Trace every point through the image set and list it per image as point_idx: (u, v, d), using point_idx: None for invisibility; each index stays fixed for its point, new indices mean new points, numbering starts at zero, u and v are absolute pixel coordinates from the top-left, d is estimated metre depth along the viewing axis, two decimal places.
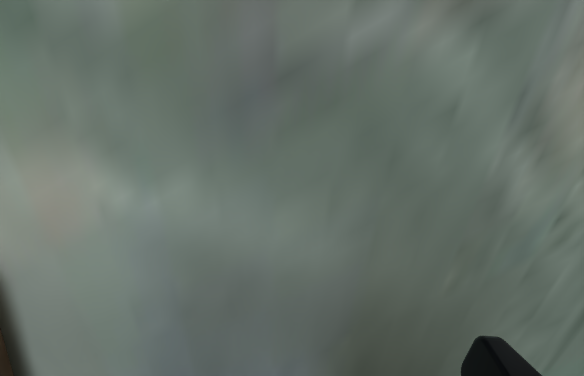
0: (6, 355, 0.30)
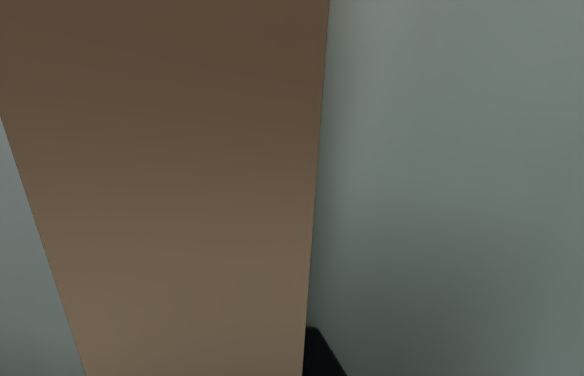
0: None
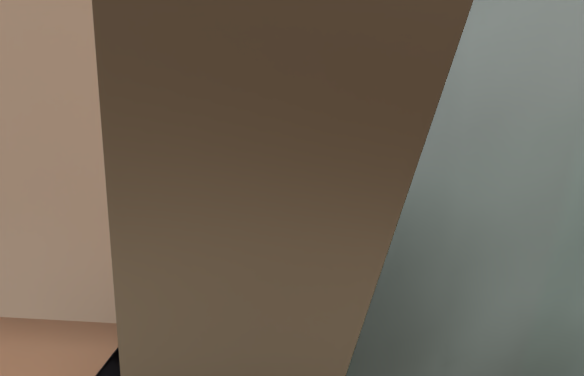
0: None
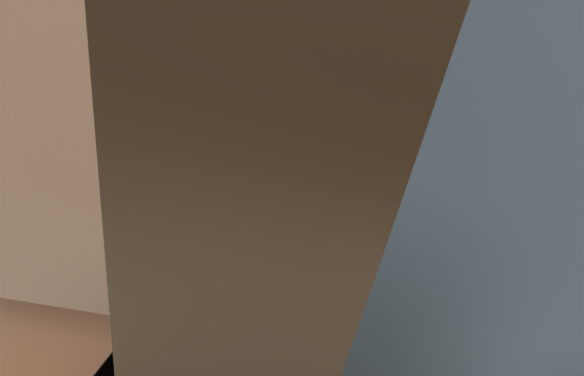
0: None
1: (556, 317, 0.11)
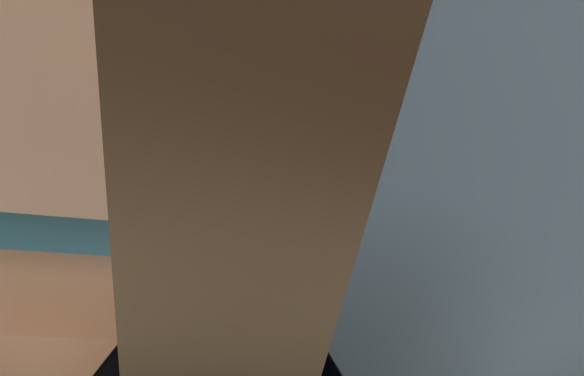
0: None
1: None
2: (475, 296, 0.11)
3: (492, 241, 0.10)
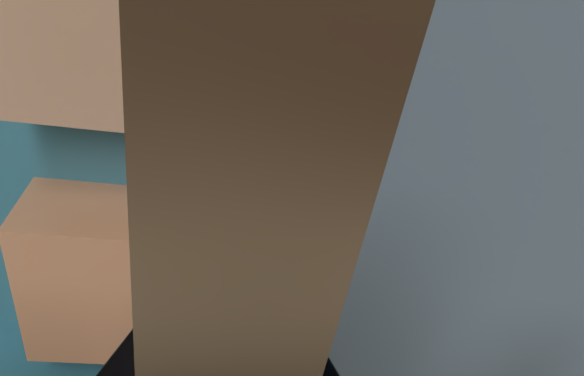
0: None
1: None
2: (449, 215, 0.13)
3: (460, 165, 0.12)
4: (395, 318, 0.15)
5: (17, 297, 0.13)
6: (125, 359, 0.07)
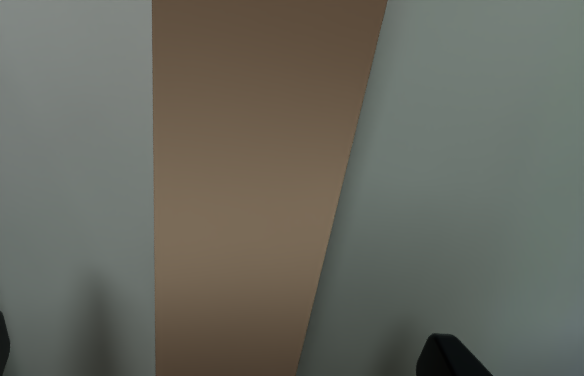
0: None
1: None
2: None
3: None
4: None
5: None
6: None
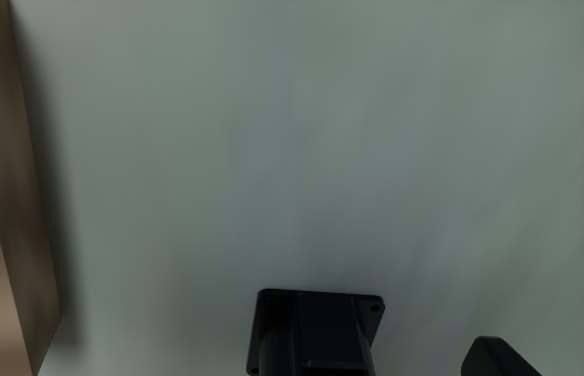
0: (41, 209, 0.21)
1: None
2: None
3: None
4: None
5: None
6: None
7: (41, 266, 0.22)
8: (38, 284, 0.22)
